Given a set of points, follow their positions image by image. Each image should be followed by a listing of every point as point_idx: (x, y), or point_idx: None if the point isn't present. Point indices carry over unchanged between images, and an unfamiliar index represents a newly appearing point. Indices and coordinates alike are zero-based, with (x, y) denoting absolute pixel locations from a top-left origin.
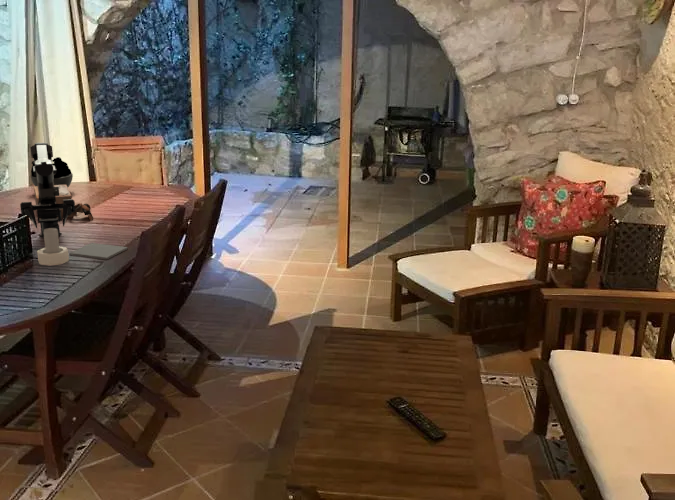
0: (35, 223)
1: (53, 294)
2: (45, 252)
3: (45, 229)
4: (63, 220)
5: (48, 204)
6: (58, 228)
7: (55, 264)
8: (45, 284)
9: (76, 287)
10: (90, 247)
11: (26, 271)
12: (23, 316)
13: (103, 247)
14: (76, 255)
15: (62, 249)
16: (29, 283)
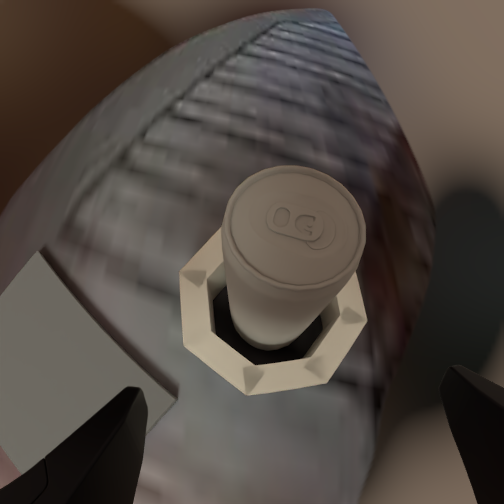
0: (483, 381)
1: (263, 45)
2: (317, 344)
3: (353, 258)
4: (106, 423)
5: None
6: None
7: None
8: (286, 85)
9: (206, 59)
10: None
11: (372, 201)
12: (307, 13)
13: (16, 415)
14: (143, 369)
15: (210, 323)
16: (334, 103)
